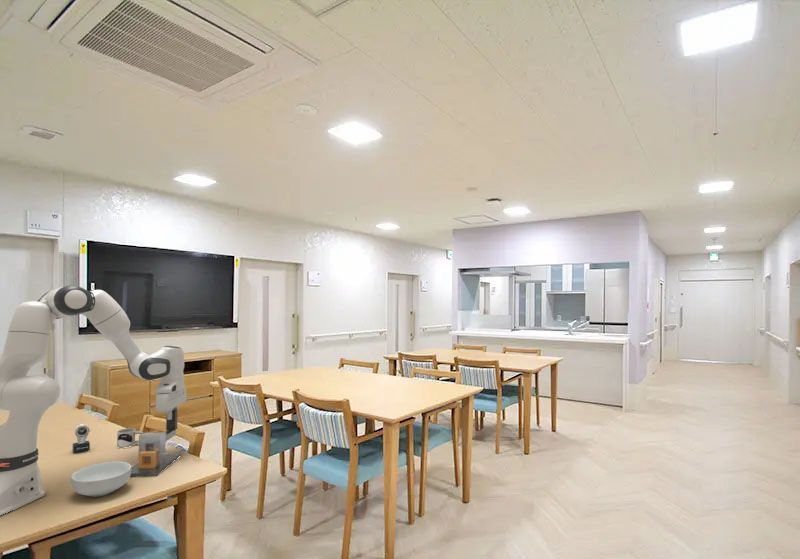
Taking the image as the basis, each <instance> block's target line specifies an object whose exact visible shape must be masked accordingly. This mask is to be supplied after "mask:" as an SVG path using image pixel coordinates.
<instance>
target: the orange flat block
mask: <svg viewBox="0 0 800 559" xmlns="http://www.w3.org/2000/svg"><path fill="white" fill-rule="evenodd" d="M145 456H151V463H145ZM138 458H139V468H155V467H156V466H157V451H141V452H140V453H139V452H138Z"/></svg>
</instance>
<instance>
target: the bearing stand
mask: <svg viewBox="0 0 800 559" xmlns="http://www.w3.org/2000/svg"><path fill="white" fill-rule="evenodd" d="M165 440H166V431H162V432H158V431H157V432H143V434H138V441H139V443H138V454H139V453H140V452H141V451H157V466H156V467H155V468H139V457H138V462H137V463H136V464H134V465H132V466H131V475H130V477H129V478H137V477H136V476H156V477H157V476H159V475H160V474H161V473H162V472H163V471H162V470H164V469H165V468H166V467H167V466H168V465H170V464H171V463H172V462H173V461H174V460H176V459H177V458H178V457H179V456H181V457H182V454H181V453H166V442H165ZM150 443H154V448H150ZM177 460H178V459H177ZM177 460H176V461H177ZM145 463H151V456H145ZM172 464H173V463H172ZM172 464H171V465H172ZM171 465H170V466H171ZM167 468H168V467H167ZM167 468H166V469H167ZM166 469H165V470H166ZM165 470H164V471H165ZM161 471H162V472H161ZM160 472H161V473H160ZM159 473H160V474H159ZM158 474H159V475H158Z"/></svg>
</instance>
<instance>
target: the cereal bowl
mask: <svg viewBox="0 0 800 559" xmlns="http://www.w3.org/2000/svg"><path fill="white" fill-rule="evenodd" d="M131 467H132V465H131V464H130V463H129V462H125V461H118V460H117V461H105V462H100V463H95V464H92V465H91V464H90V465H88V466H85V467H82V468H79V469H78V470H75V472H73V473H72V474H71V476H70V483H71V488H72V489H73V491H74V492H75V493H77V494H79V495H82V496H88V497H93V498H94V497H95V498H97V497H102V496H106V495H110V494H111V493H114V492H115V491H116V490H119V489H120V488H121V487H123V486H124V485H125V484H126V483H127V482H128V480H130V478H131V477H130V475H131Z"/></svg>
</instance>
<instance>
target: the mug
mask: <svg viewBox="0 0 800 559" xmlns="http://www.w3.org/2000/svg"><path fill="white" fill-rule="evenodd" d="M143 433H144V431H140V430H138V431H137V430H136V428H133V427H132V428H123V429H119V430H117V434H116V435H117V438H116V448H117V447H119V448H118V449H120V448H123V449H125V448H124V447H129V446H133V445H134V444H135V445H136V444H139V440H136V435H141V434H143ZM135 445H134V446H135ZM134 446H133V447H134ZM129 448H130V447H129Z"/></svg>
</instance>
